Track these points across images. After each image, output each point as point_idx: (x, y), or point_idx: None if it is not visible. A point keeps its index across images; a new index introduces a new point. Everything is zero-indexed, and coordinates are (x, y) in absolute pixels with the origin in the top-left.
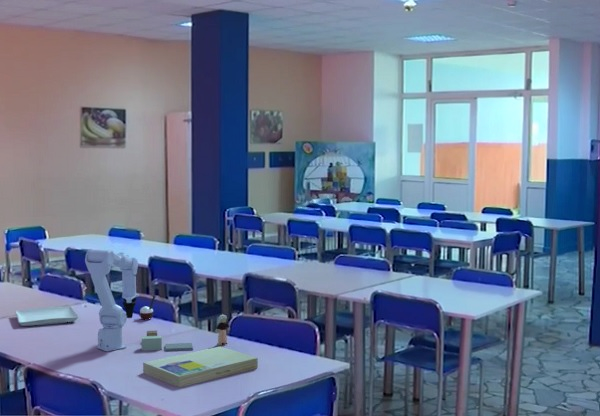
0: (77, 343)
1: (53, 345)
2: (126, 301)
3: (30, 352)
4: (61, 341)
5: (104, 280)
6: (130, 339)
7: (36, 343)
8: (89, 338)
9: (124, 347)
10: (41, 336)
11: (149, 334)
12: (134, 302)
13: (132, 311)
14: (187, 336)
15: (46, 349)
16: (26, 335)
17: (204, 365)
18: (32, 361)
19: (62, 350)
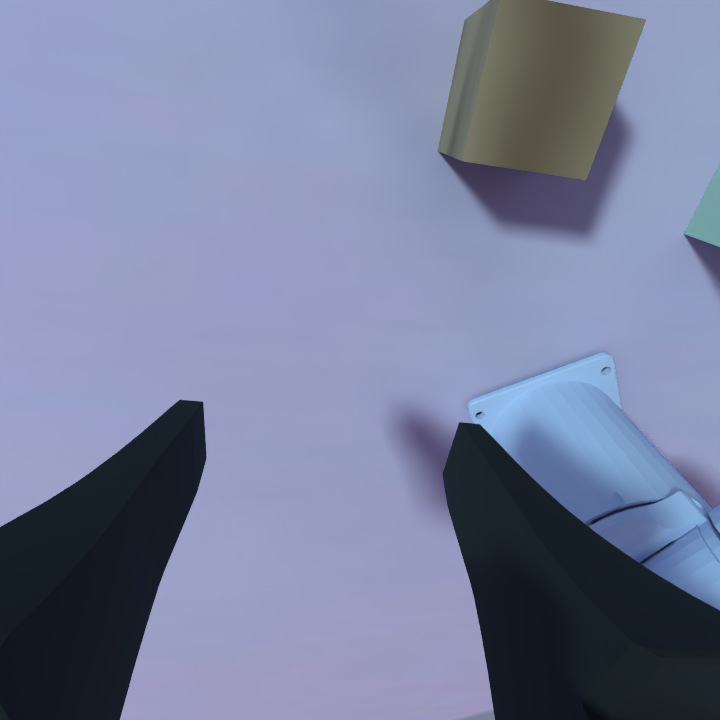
0: (348, 574)
1: (354, 643)
2: (115, 695)
3: (447, 689)
4: (280, 623)
5: None
6: (336, 297)
7: (294, 683)
8: (238, 528)
9: (613, 367)
10: (157, 677)
11: (591, 141)
12: (715, 686)
13: (545, 499)
14: None
15: (421, 657)
16: (132, 710)
17: None
18: None
19: (470, 617)
